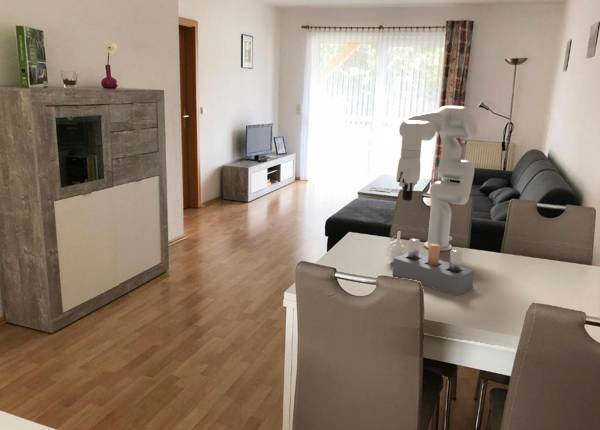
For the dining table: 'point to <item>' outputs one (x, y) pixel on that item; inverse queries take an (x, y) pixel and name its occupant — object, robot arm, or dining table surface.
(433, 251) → the plunger mid
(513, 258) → the dining table surface
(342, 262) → the dining table surface
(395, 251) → the white tall piece
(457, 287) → the grey long block
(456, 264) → the clear piece
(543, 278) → the dining table surface
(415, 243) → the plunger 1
